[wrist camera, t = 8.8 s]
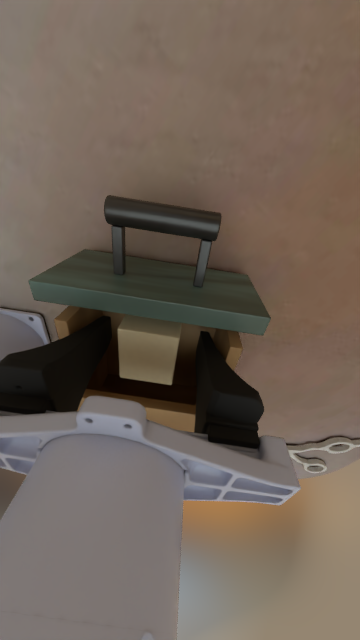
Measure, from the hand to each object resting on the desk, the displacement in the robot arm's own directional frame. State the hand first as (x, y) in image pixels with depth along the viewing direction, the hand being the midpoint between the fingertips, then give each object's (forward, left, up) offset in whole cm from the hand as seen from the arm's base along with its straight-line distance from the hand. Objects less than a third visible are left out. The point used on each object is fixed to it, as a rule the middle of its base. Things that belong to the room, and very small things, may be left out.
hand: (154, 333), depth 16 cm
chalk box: (0, 0, -2) cm, 2 cm away
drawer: (0, 0, -3) cm, 3 cm away
